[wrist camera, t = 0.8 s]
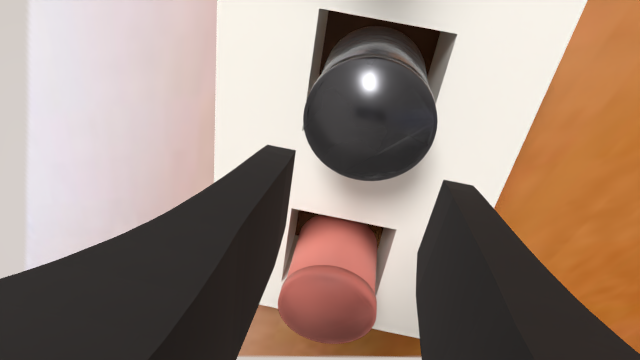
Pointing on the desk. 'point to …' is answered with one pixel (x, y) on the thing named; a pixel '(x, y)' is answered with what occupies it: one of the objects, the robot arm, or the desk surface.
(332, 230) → the red plug
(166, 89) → the desk surface
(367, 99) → the graphite plug
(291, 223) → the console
